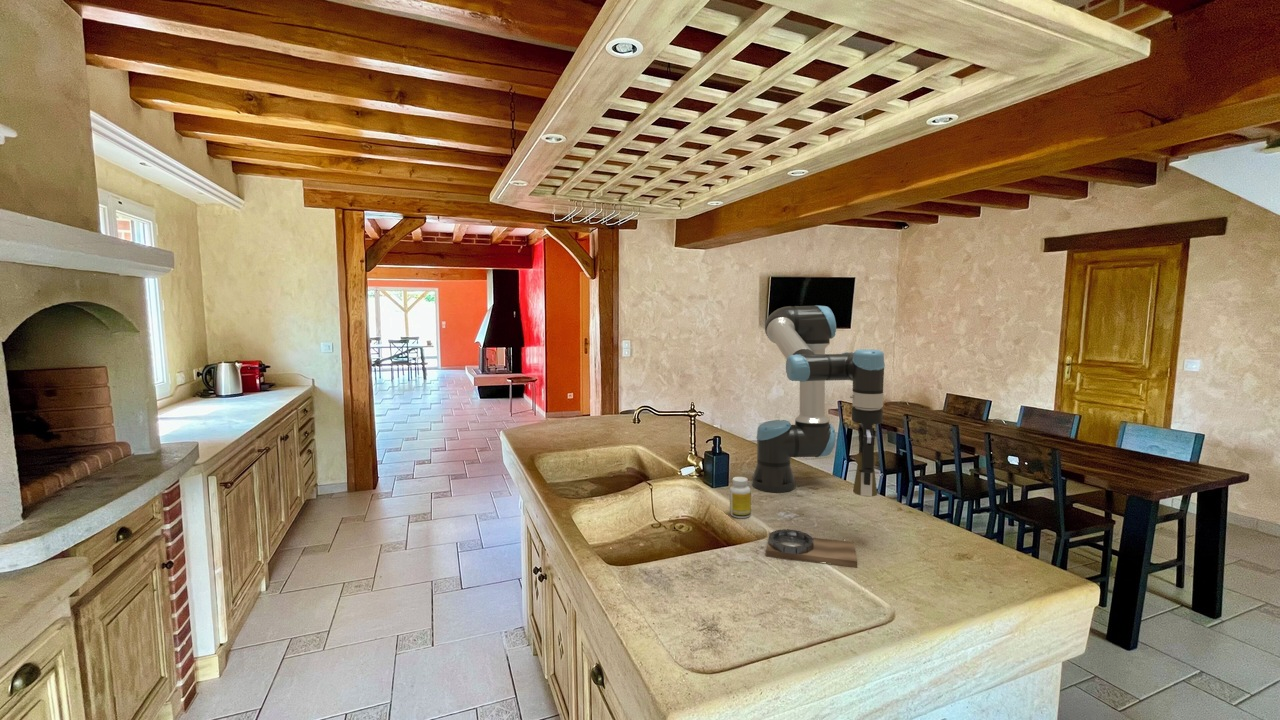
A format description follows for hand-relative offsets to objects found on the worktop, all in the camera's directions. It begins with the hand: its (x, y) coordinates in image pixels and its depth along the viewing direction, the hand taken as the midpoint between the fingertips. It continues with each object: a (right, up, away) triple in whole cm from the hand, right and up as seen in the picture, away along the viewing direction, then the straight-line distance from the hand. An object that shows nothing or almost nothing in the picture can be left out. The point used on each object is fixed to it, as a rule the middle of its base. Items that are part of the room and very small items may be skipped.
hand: (865, 490), depth 141 cm
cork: (0, -1, 0) cm, 1 cm away
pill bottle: (-30, -13, +22) cm, 39 cm away
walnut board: (-16, -15, -4) cm, 22 cm away
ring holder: (-21, -14, -2) cm, 25 cm away
